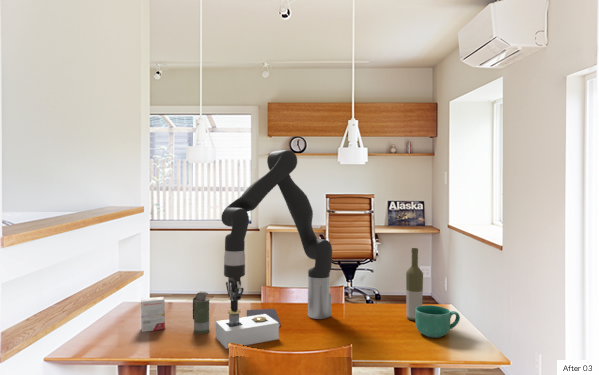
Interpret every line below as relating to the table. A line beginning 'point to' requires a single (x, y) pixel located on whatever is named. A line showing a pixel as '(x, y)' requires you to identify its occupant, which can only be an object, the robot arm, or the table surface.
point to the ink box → (152, 314)
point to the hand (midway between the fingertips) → (234, 310)
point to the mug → (434, 320)
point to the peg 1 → (234, 318)
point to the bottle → (414, 286)
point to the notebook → (269, 312)
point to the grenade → (201, 313)
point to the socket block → (247, 331)
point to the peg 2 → (259, 319)
